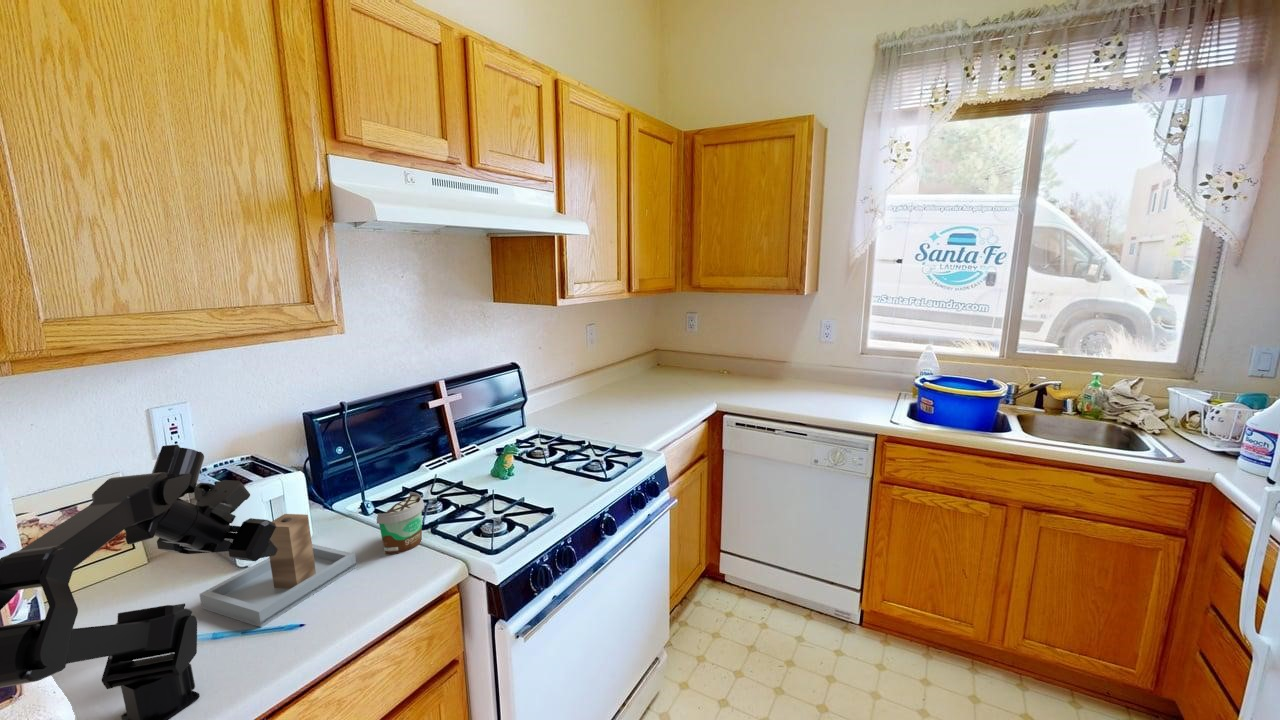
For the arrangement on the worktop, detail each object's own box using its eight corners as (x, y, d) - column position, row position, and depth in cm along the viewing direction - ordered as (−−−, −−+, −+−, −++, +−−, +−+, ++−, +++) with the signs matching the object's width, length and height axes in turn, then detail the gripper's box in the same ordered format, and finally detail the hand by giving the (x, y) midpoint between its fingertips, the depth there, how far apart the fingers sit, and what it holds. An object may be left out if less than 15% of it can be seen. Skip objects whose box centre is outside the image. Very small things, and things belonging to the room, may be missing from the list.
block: (297, 589, 103) (288, 526, 100) (274, 587, 103) (264, 525, 101) (316, 574, 108) (307, 513, 105) (293, 573, 108) (284, 513, 106)
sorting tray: (261, 627, 94) (258, 611, 93) (202, 608, 99) (199, 593, 99) (356, 566, 112) (355, 553, 111) (302, 553, 117) (300, 541, 117)
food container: (405, 560, 114) (401, 517, 112) (380, 557, 115) (375, 514, 114) (438, 532, 126) (434, 492, 124) (415, 530, 127) (411, 490, 125)
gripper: (257, 475, 85) (319, 509, 97) (163, 469, 88) (235, 502, 101) (217, 546, 79) (289, 573, 91) (118, 536, 82) (201, 563, 95)
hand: (253, 550), depth 95 cm, fingers open, 9 cm apart
